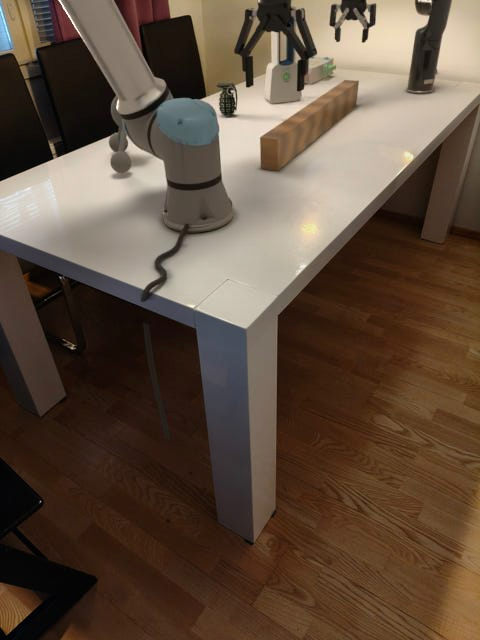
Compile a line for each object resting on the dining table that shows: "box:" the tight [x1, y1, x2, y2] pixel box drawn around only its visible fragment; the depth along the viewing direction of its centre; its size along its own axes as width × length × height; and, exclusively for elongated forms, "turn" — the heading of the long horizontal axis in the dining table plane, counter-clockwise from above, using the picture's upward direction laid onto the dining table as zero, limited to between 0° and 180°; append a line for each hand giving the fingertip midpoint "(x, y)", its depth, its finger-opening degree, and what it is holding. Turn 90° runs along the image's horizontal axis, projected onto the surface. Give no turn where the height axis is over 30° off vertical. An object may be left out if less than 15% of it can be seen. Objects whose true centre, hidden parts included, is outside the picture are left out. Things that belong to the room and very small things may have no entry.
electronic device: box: [263, 5, 303, 104], centre depth 173 cm, size 12×8×30 cm, turn 105°
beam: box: [259, 79, 360, 172], centre depth 148 cm, size 66×5×8 cm, turn 152°
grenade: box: [215, 82, 238, 117], centre depth 166 cm, size 7×6×10 cm
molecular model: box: [108, 94, 133, 174], centre depth 130 cm, size 24×22×30 cm
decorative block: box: [295, 56, 337, 85], centre depth 207 cm, size 26×6×20 cm
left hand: (274, 88), depth 118 cm, fingers open, 13 cm apart
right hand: (350, 41), depth 157 cm, fingers open, 8 cm apart
